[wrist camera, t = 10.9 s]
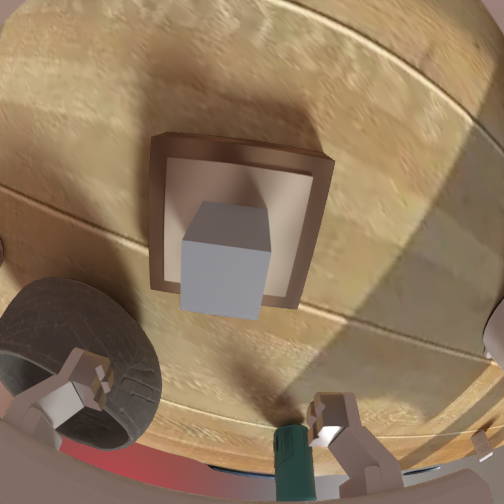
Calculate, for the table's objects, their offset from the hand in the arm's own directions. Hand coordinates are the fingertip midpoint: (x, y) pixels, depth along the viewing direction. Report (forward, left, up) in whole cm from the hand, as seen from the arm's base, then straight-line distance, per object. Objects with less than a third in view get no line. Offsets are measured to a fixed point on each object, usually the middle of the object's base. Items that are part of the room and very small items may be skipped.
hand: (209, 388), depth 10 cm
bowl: (+16, +17, -19) cm, 31 cm away
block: (0, 0, -15) cm, 15 cm away
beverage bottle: (-14, +37, -19) cm, 44 cm away
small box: (-90, +63, -19) cm, 112 cm away
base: (0, 0, -19) cm, 19 cm away
